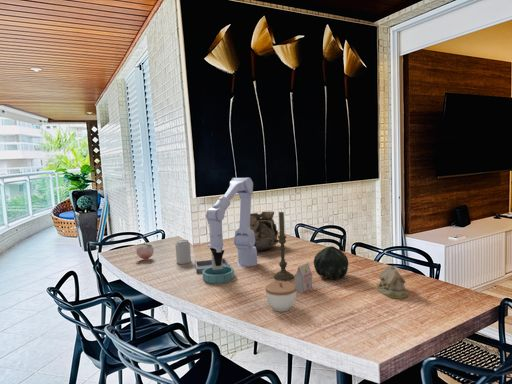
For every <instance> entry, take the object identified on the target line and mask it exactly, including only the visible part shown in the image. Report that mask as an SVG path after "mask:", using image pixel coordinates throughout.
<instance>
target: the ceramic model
mask: <svg viewBox="0 0 512 384" xmlns="http://www.w3.org/2000/svg"><path fill="white" fill-rule="evenodd" d="M378 279H380V280H379V281H380V282H379V283H377V285H376V291H377V292H379V293H380V294H382V295H383V296H384V297H385V296H386V297H388V298H390V299H403V298H407V297H408V296H409V292H408V290H407V289H406V286H405V284H406V280H405V278H404V277H403V276H402V275H401V274H400V273H399V271H398V270H397V269H396V268H395V266H393V265H390V266H386V268H385V269H384V270H382V271H381V272H380V274H379V276H378Z"/></svg>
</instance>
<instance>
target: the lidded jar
mask: <svg viewBox="0 0 512 384" xmlns="http://www.w3.org/2000/svg"><path fill="white" fill-rule="evenodd" d="M265 293H266V295H265V296H266V299H267V300H266V301H267V303H268V304H269V306H270V307H271V308H272V309H273V310H274V311H275V312H287V311H289V310H290V309H291V308H292V307H293V306H294V304H295V302H296V298H297V297H296V296H297V291H296V286H295V283H291V282H288V281H275V282H274V281H273V282H270V283H267V285H265Z"/></svg>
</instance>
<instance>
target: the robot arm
mask: <svg viewBox="0 0 512 384" xmlns="http://www.w3.org/2000/svg"><path fill="white" fill-rule="evenodd" d="M253 190H254V182H253V180H252V178H251V177H232V178H231V180H230V181H229V187H228V188H227V191H226V192H225V193H224V195H221V196H220V197H218V199H217V201H216V202H215V203H214V205H213V206H212V207H210V208H208V209H207V211H206V214H205V218H206V220H207V224H208V228H209V244H207V247H208V248H209V249H210V251H211V252H210V253H211V254H213V256H214V260H215V264H216V266H221V262H222V258H223V256H224V253H225V249H223V247H224V238H223V237H224V236H223V220H224V219H225V214H226V211H227V209H229V207H230V205H231V200H232V199H233V197H234V196H235V195H236V194H237V195H239V196H240V207H239V226H238V227H239V228H237V229H236V230H235V231H234V237H233V244H234V245H235V247H236V248H237V260H238V261H237V262H236V264H237V266H238V267H239V268H241V267H251V266H258V250H256V247H255V246H254V244H255V236H254V232H253V231H252V230H251V229H250V214H252V212H251V211H252V209H251V208H252V195H253V192H254V191H253ZM242 233H243V234H242ZM246 234H248V235H246Z"/></svg>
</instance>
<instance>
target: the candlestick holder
mask: <svg viewBox="0 0 512 384" xmlns="http://www.w3.org/2000/svg"><path fill="white" fill-rule="evenodd" d="M278 221H279V222H278V225H279V229H278V230H279V235H277V239H278V240H279V242H278V243H279V244H280V246H279V247H280V248H279V250H280V257H281V260H280V262H279V263H278V265H279V267H280V270H279V271H278V272H276V273H275V274H273V279H274V280H277V281H283V280H284V281H290V280H292V279H295V275H294V274H293V273H291V272H290V271H287V270H286V268H287V265H288V262H286V260H285V251H286V247H285V244H287V243H286V242H287V240H286V239H287V235H285V213H284V212H283V211H282V210H281V211H279V212H278Z"/></svg>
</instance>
